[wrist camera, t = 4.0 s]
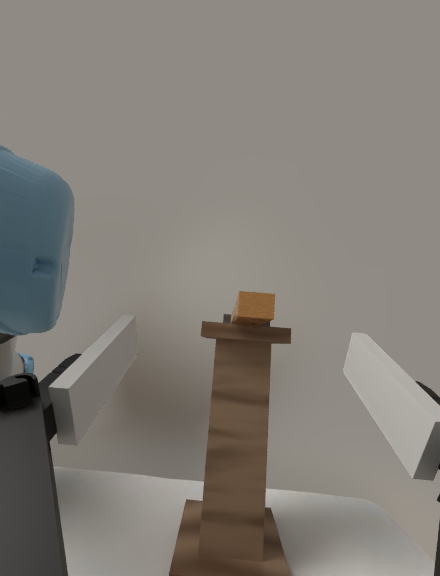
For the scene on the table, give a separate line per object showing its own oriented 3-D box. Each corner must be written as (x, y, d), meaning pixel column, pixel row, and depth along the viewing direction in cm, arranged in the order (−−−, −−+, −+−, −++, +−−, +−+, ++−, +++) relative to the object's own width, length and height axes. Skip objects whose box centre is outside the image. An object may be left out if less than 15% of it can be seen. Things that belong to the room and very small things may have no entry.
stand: (293, 604, 28) (298, 320, 35) (167, 590, 28) (195, 311, 35) (270, 518, 42) (277, 326, 48) (185, 509, 42) (203, 320, 49)
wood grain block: (273, 319, 25) (274, 293, 25) (237, 316, 25) (239, 291, 25) (248, 330, 48) (249, 317, 49) (230, 329, 48) (231, 316, 49)
